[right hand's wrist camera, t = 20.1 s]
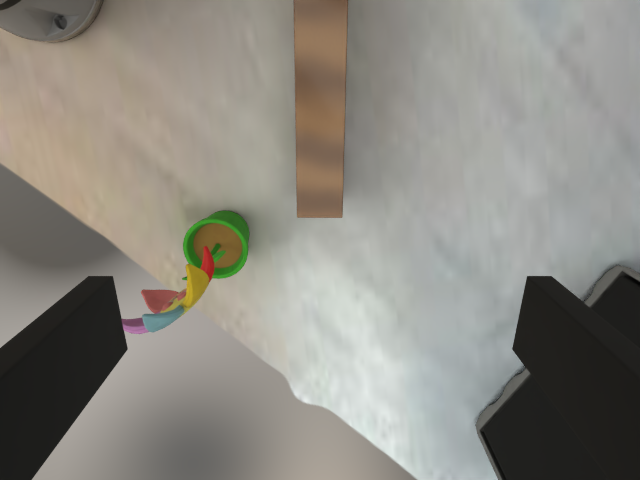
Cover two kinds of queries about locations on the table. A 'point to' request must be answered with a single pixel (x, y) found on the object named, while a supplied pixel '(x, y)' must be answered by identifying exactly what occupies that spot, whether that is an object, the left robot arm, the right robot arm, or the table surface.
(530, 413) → the grey black box
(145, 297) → the potted flower
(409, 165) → the table surface
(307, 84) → the bar
